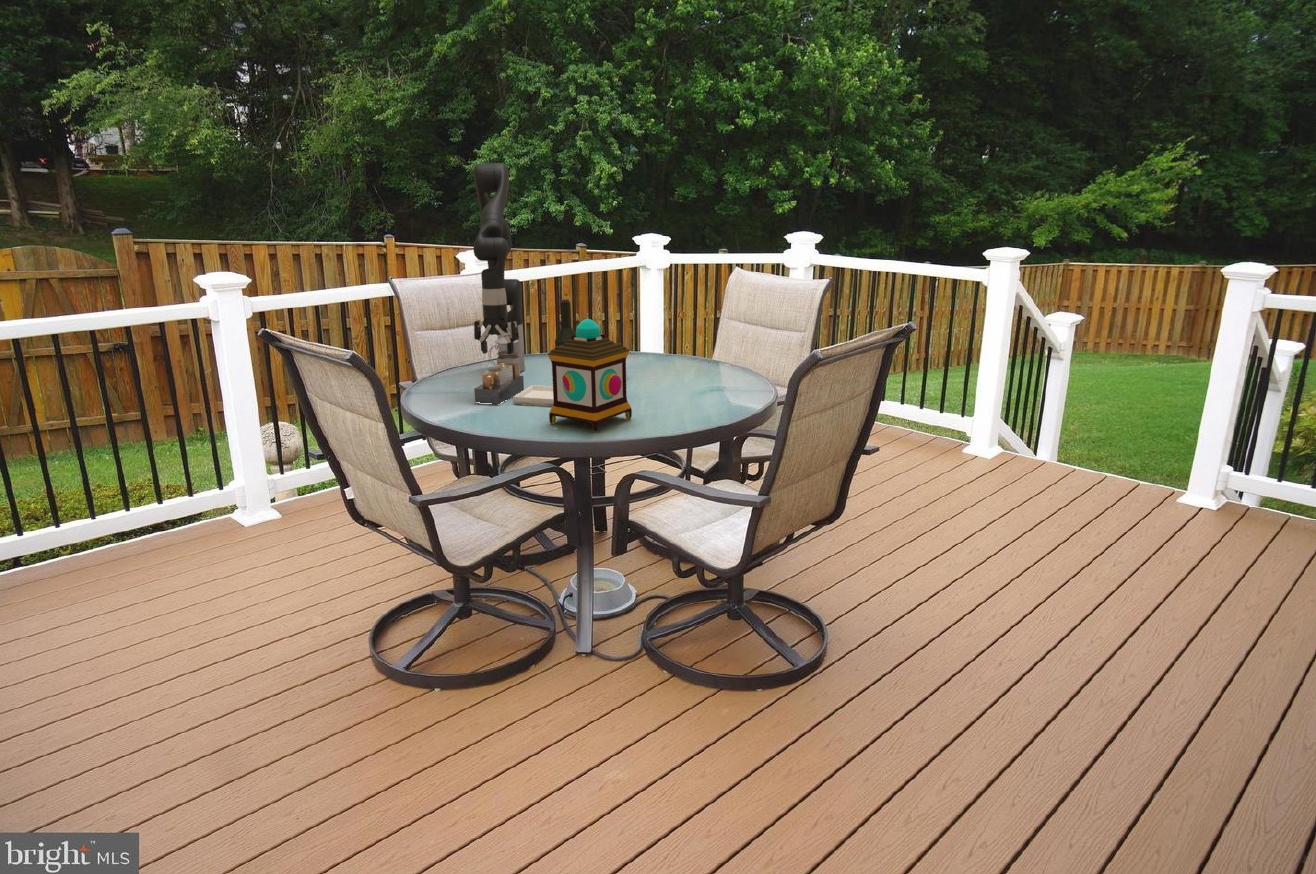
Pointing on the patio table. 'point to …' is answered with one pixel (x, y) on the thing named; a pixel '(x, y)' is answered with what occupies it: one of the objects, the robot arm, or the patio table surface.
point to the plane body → (499, 388)
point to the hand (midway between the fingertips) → (497, 353)
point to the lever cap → (501, 373)
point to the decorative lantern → (589, 377)
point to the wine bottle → (565, 324)
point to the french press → (505, 353)
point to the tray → (535, 396)
